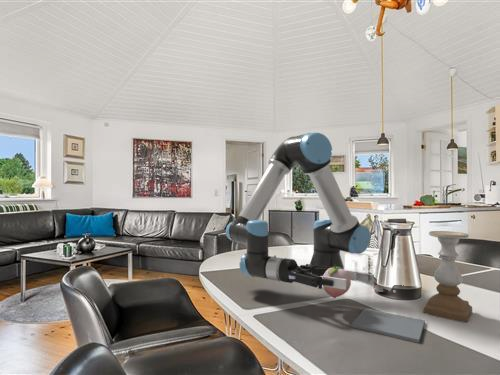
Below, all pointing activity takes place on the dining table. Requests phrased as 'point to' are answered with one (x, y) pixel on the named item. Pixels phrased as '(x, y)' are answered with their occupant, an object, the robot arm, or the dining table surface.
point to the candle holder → (448, 281)
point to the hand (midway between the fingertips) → (351, 280)
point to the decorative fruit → (337, 273)
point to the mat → (390, 324)
